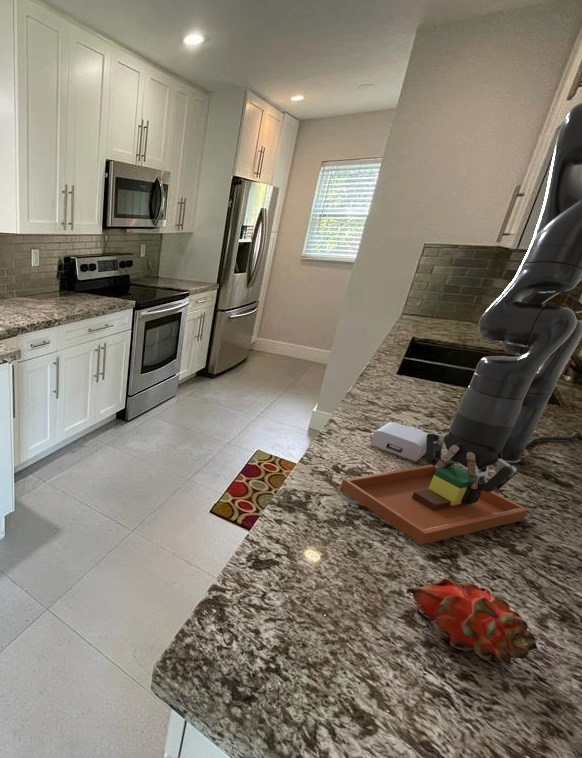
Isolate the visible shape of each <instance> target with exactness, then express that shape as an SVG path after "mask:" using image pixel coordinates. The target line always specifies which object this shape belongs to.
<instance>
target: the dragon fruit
mask: <svg viewBox="0 0 582 758" xmlns="http://www.w3.org/2000/svg"><path fill="white" fill-rule="evenodd" d="M405 594H407V595H410V594H412V597H413V598H414V601H415V603H417V604H414V605H413V609H414V611H415V612H416V614H417V615H418V616H420V617H421V620H423V621H425V623H427V624H428V625H431V627H430V628H431V632H432V633H434V634H439V635H442V632H446V633H447V634H448V635H449V636H450V641H449V645H450V647H453V648H454V649H456V650H460V651H463V652H469V651H473V653H474V654H476V655H478V657H480V658H482V659H484V660H486V661H489V660H490V659H491V658H492V655H493V656H494V657H495V658H496V659H498V660H499V661H500V662H502V663H503V664H505V665H509V666H513V665H514V663H513V662H512V661H511V659H520V660H524V659H525V658H527V656H529V653H530V652H529V651H533V650H537V649H538V646H537V639H536V638H535V635H534V634H533V633H532V632H531V630H528V629H529V626H528V624H527V622H526V621H525V620H524V619H523V617H522V616H521V615H520V613H519V612H518V611H516V610H511V607H510V604H509V603H508V601H506V600H505V599H504V598H503V597H502V596H501V595H499V594H498V593H492V592H491V593H490V591H489V590H488V588H485V587H479V586H478V585H477V584H475V583H473V582H468V581H461V582H460V583H459V582H457V581H455V580H453V579H450V578H447V577H446V578H442V579H439V581H436V582H433V583H428V584H425V585H424V584H423V585H420V586H415V587H411V588H406V592H405ZM420 611H422V612H420ZM429 618H430V619H429ZM458 645H465V646H458ZM487 654H488V655H487Z"/></svg>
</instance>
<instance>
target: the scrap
mask: <svg viewBox="0 0 582 758" xmlns="http://www.w3.org/2000/svg"><path fill="white" fill-rule="evenodd" d="M412 499H414V500H416V501H417V502H419V503H421V504H422V505H424V506H426V507H427V508H429V509H431V510H432V511H436V510H441V509H446V508H449V506H450V503H451V501H450V500H448V499H446V498H444V497H442V496H441V495H439V494H437V493H435V492H434V491H432V490H430V489H426V490H421V491H416V492H414V493H413V496H412Z"/></svg>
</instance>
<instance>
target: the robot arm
mask: <svg viewBox="0 0 582 758" xmlns="http://www.w3.org/2000/svg"><path fill="white" fill-rule="evenodd" d="M554 144H555V145H554V149H553V153H552V157H551V164H550V169H549V173H548V174H549V175H548V180H547V186H546V190H545V195H544V201H543V205H542V207H541V212H540V215H539V218H538V221H537V224H536V226H535V230H534V234H533V237H532V240H531V242H530V245H529V247H528V250H527V252H526V254H525V256H524V258H523V260H522V262H521V264H520V266H519V268H518V270H517V272H516V274H515V276H514V277H513V279H512V281H511V282H510V283H509V284H508V285H507V286H506V288H505V289H504V291H503V292H502V293H501V294H500V295H499V296H498V297H497V298H496V299H495V300H494V301H493V302H492V303H491V305H490V306H489V307H488V308H487V309H486V310H485V311H484V313H483V314H482V315H481V317H480V319H479V320H478V326H477V330H478V333H479V336H480V337H481V338H482V339H484V340H486V341H489V342H493V343H498V344H501V347H502V350H503V351H504V352H506V353H508V354H511V355H513V356H511V355H510V356H507V355H487V356H484V357H482V358H481V359H480V360H479V361H478V363H477V365H476V367H475V370H474V372H473V375H472V377H471V380H470V383H469V385H468V387H467V388H466V391H465V392H464V393H463V396H462V397H461V399H460V401H459V403H458V406H457V409H456V412H455V414H454V417H453V420H452V421H451V423H450V427H449V431H448V433H447V434H442V432H431V433H429V434H427V443H426V453H425V462H426V463H428V464H430V465H431V464H432V465H433V466H434V468H435V471H436V470H438V469H444V468H449V467H454V465H455V464H456V463H457V464H461V466H464V468H467V471H468V475H469V486H468V487H467V489H466V491H465V494H464V496H463V498H462V500H461V503H463V504H464V505H468V504H473V503H476V502H477V501H478V499H479V497H480V495H481V493H482V491H485V492H491V491H493V492H495V491H499V490H500V489H501V488H503V486H505V485H506V484H507V483H509V481H510V480H512V478H514V477H515V476H516V475H517V474H518V473H519V472H520V471H521V469H520V467H519V466H518V465H517V464H519V463H520V461H521V459H522V456H523V454H524V452H525V450H526V448H527V447H530V446H532V445H533V444H534V443H536V442H538V441H573V440H575V439H576V438H580V437H581V433H580V432H579V431H575V432H573V434H571V435H569V436H537V437H533V438H531V437H532V436H533V434H534V431H535V429H536V427H537V425H538V423H539V421H540V419H541V417H542V415H543V413H544V411H545V409H546V406H547V405H548V402H549V400H550V399H551V396H552V394H553V392H554V390H555V388H556V385H557V383H558V381H559V379H560V377H561V374H562V373H563V371H564V369H565V367H566V366H567V364H568V362H569V360H570V358H571V357H572V355H573V353H574V352H575V350H576V348H577V347H578V345H579V343H580V341H581V339H582V320H580V319H577V317H576V314H575V312H574V311H573V310H572V309H571V308H569V307H567V306H566V307H565V306H561V305H553V304H545V303H546V302H548V301H549V300H551V299H552V298H554V297H555V296H557V295H559V294H561V293H566V292H569V291H571V290H573V289H574V288H576V286H577V285H578V284H579V283H580V282H581V281H582V102H580V103H577V104H576V105H575V106H573V107H572V108H571V109H570V110H569V111H568V112H567V113H566V115H565V117H564V118H563V121H562V123H561V126H560V127H559V130H558V132H557V136H556V139H555V143H554ZM443 445H445V448H446V452H445V453H444V454H443V455H442V453H443V451H442V450H443ZM492 465H495V469H494V471H495V474H494V475H492V477H490V479H489V480H487V479H488V478H487V477H488V475H489V473H490V472H489V466H492ZM435 471H434V473H433V476H434V474H435ZM433 476H432V478H431V481H432V479H433Z"/></svg>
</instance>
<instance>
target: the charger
mask: <svg viewBox="0 0 582 758" xmlns="http://www.w3.org/2000/svg"><path fill="white" fill-rule="evenodd" d="M427 434H430V433H428V432H427V431H423V430H421V429H419V428H416V427H413V426H410V425H404V424H402V423H398V422H395V421H389V422H387V423H386V424H384V425H383V426H381V427H380V428H378V429H377V430H375V431H374V432H373V435H372V438H371V441H370V446H373V447H375V448H378V449H381V450H384V451H386V452H389V453H391V454H395V455H397V456H399V457H403V458H404V459H408V460H410V461H413V462H418V461H419V460H420V459H421V458H422V457H423V456H425V455H426V443H427Z"/></svg>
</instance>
